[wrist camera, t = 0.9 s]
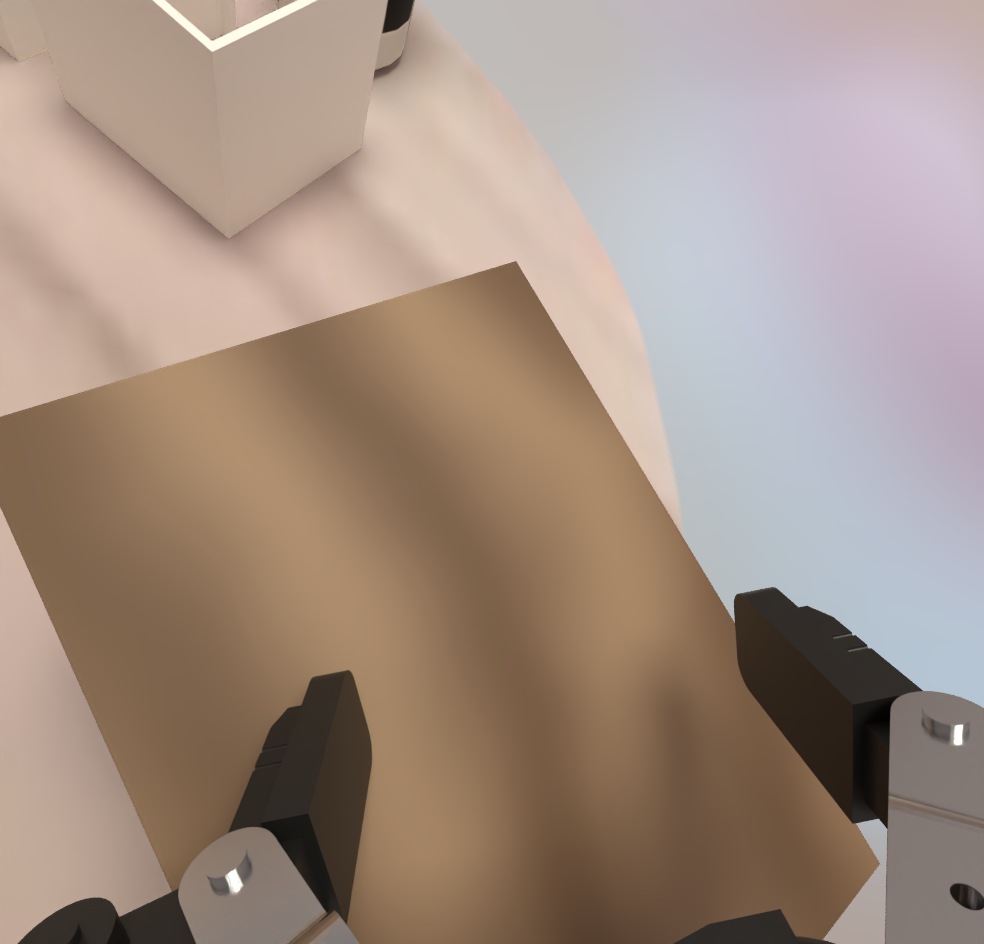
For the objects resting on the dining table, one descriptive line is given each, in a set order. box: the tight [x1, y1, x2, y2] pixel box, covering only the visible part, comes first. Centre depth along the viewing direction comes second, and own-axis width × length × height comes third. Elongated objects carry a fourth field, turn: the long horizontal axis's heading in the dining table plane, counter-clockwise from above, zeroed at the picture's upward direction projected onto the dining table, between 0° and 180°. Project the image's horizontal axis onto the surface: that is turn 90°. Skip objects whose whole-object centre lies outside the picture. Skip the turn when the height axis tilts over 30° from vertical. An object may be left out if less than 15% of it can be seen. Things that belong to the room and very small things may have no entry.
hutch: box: [0, 261, 880, 944], centre depth 21 cm, size 14×19×16 cm
